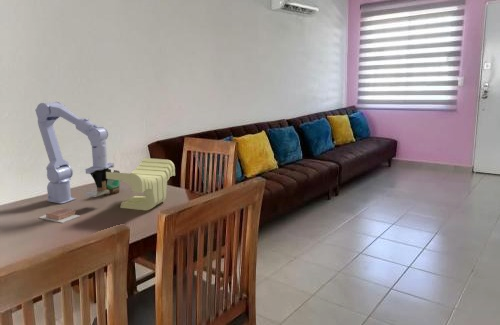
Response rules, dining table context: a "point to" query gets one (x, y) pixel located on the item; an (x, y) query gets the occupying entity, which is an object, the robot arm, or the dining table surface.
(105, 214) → the dining table surface
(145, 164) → the slatted curved stool
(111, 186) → the food container
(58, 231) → the dining table surface
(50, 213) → the tile
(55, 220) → the mat
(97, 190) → the turner
